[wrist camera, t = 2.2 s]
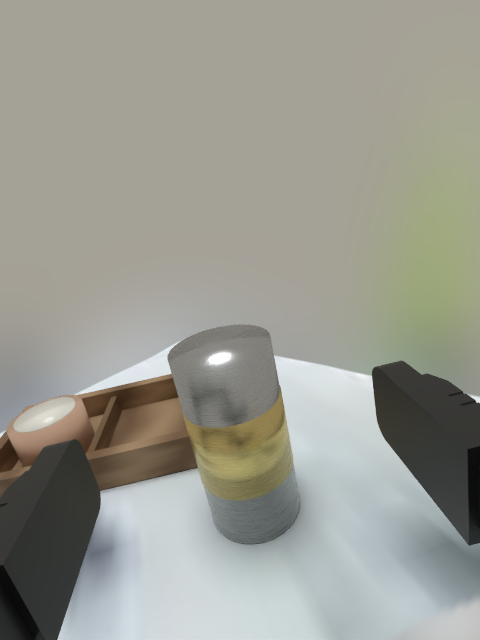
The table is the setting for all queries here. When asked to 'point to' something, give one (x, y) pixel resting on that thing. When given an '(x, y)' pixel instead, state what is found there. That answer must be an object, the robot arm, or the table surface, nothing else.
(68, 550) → the robot arm
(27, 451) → the ramekin
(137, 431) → the tray
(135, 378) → the table surface
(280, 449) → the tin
